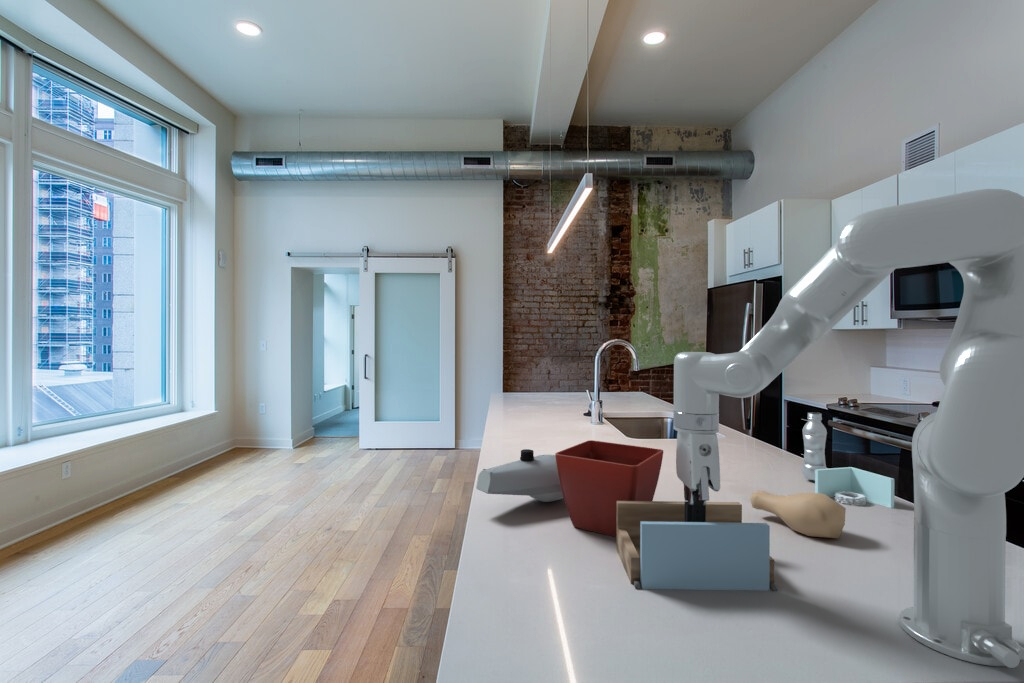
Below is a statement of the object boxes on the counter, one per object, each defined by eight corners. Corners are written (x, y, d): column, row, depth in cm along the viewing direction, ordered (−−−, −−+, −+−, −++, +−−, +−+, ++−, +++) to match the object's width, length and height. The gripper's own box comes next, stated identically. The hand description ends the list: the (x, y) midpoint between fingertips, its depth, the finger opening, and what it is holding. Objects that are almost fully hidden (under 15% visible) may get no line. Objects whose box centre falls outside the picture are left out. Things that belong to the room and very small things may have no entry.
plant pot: (664, 520, 117) (665, 448, 117) (636, 549, 101) (636, 465, 101) (589, 505, 127) (589, 439, 127) (552, 529, 111) (553, 453, 111)
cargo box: (779, 594, 83) (779, 534, 83) (633, 592, 84) (633, 532, 84) (738, 552, 99) (738, 502, 99) (616, 550, 100) (616, 500, 100)
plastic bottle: (805, 482, 148) (805, 414, 148) (799, 476, 155) (799, 411, 155) (830, 484, 146) (830, 415, 146) (823, 477, 153) (823, 412, 153)
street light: (554, 487, 143) (555, 438, 143) (594, 501, 131) (594, 447, 131) (464, 508, 125) (464, 452, 125) (500, 526, 113) (500, 465, 113)
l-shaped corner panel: (815, 497, 135) (815, 469, 134) (851, 494, 137) (851, 467, 137) (855, 512, 123) (855, 482, 123) (894, 508, 126) (894, 478, 126)
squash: (829, 549, 101) (829, 505, 101) (739, 519, 118) (739, 480, 118) (856, 538, 106) (856, 496, 106) (766, 511, 123) (766, 474, 123)
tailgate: (769, 591, 83) (769, 525, 83) (641, 589, 84) (642, 524, 84) (766, 588, 85) (766, 523, 84) (640, 585, 85) (640, 521, 85)
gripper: (734, 429, 81) (733, 543, 81) (702, 415, 96) (701, 511, 96) (687, 429, 81) (686, 542, 81) (663, 415, 96) (662, 510, 96)
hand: (694, 525), depth 89 cm, fingers closed
